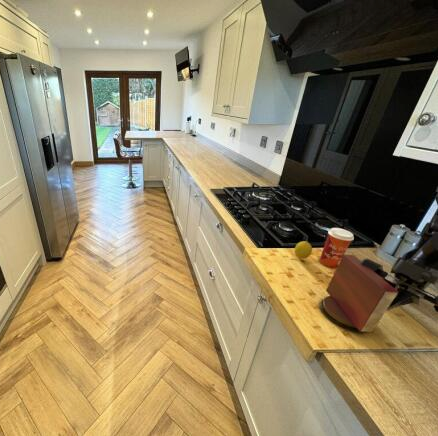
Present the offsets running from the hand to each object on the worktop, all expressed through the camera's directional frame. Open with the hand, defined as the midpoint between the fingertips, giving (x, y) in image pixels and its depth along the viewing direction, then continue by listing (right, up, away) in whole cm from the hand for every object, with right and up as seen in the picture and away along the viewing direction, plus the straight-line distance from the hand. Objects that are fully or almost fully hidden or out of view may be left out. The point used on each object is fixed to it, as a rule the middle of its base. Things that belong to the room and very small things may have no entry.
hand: (380, 310), depth 59 cm
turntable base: (-2, -5, +10) cm, 11 cm away
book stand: (-2, -5, +10) cm, 11 cm away
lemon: (+2, +7, +35) cm, 36 cm away
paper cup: (+12, +6, +33) cm, 35 cm away
